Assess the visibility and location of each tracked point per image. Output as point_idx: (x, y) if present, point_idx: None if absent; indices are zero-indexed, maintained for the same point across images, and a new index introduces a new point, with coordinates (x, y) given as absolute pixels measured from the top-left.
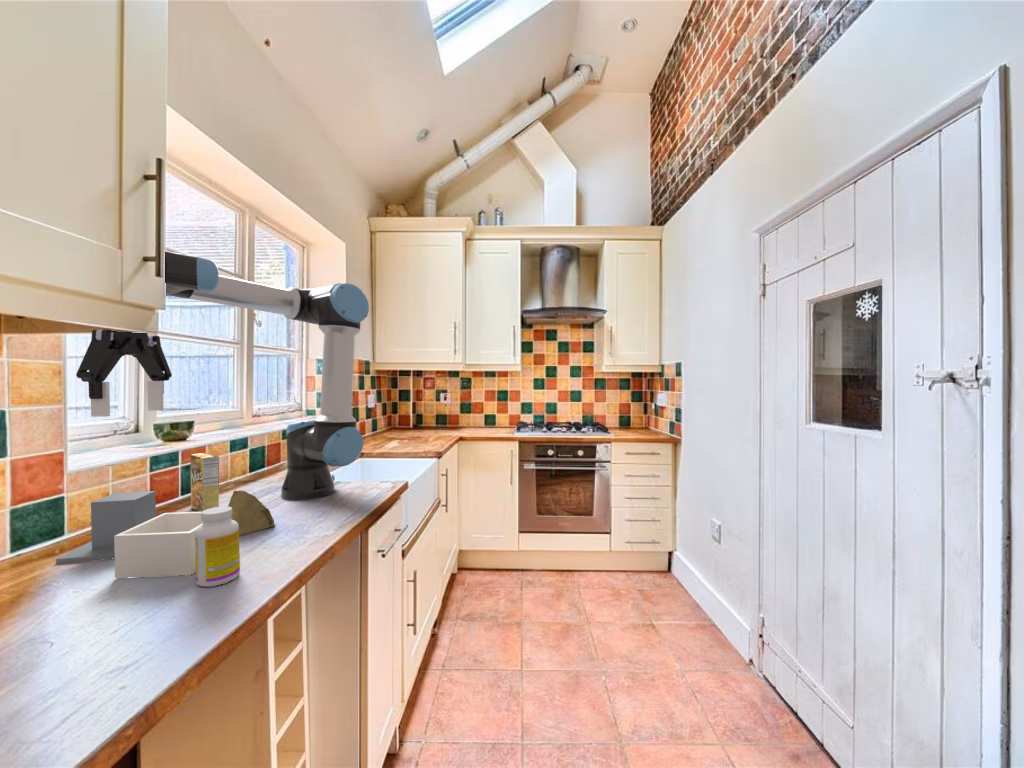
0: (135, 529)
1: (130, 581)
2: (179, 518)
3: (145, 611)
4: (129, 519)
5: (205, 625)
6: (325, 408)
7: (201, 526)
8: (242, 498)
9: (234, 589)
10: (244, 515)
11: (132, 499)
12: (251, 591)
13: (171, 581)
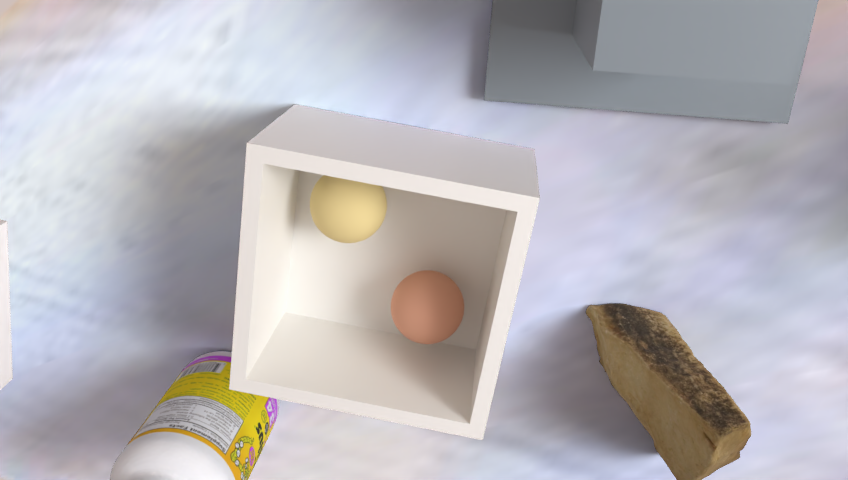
0: (334, 174)
1: None
2: (505, 256)
3: (80, 286)
4: (587, 25)
5: (11, 427)
6: None
7: (137, 471)
8: (683, 444)
9: None
10: (634, 413)
11: (608, 50)
12: None
13: None
